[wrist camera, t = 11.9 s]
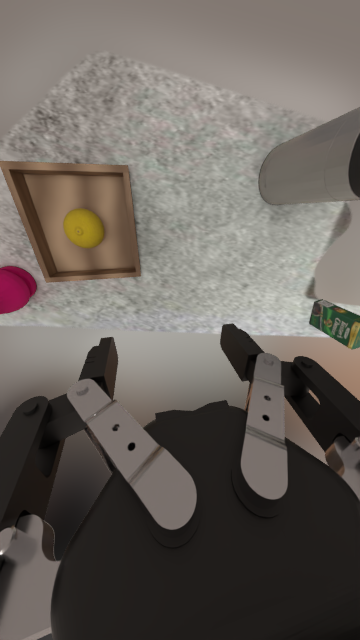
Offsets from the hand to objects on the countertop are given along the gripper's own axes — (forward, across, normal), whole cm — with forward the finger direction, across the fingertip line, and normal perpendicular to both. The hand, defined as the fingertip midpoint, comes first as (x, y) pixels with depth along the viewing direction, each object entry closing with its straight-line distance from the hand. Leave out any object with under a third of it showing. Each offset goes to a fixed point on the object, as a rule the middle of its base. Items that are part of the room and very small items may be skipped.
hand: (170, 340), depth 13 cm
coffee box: (+28, -47, +17) cm, 58 cm away
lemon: (+27, +10, -6) cm, 30 cm away
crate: (+28, +10, -6) cm, 30 cm away
